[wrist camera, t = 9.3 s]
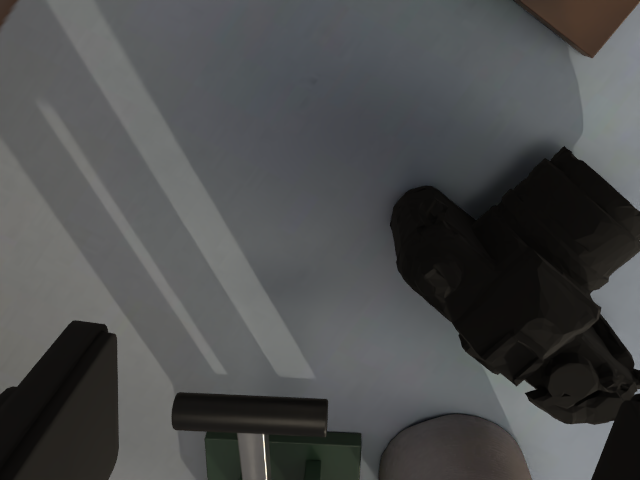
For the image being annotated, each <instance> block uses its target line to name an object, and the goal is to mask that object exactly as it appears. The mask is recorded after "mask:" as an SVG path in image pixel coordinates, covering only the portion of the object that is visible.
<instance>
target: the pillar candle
mask: <svg viewBox="0 0 640 480" xmlns="http://www.w3.org/2000/svg"><path fill="white" fill-rule="evenodd" d="M379 480H532V478H531V475H530V472H529V469H528V467H527V464H526V461H525V458H524V456H523V453H522V451H521V449H520V447H519V445H518V444H517V442H516V441H515V440H514V439H513V437H512V436H511V435H510V434H508V433H507V432H506V431H505V430H504V429H503V428H501V427H499V426H498V425H496V424H494V423H492V422H490V421H487V420H484V419H482V418H478V417H474V416H468V415H462V414H452V415H446V416H442V417H439V418H435V419H431V420H428V421H425V422H422V423H419V424H417V425H414V426H411V427H409V428H407V429H405V430H403V431H402V432H400V433H399V434H398V435H397V436H396V437H395V438H394V439H392V441H391V442H390V443H389V445H388V447H387V449H386V450H385V451H384V453H383V455H382V458H381V462H380V468H379Z"/></svg>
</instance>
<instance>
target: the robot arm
mask: <svg viewBox="0 0 640 480" xmlns="http://www.w3.org/2000/svg"><path fill="white" fill-rule="evenodd" d="M118 449H119V436H118V372H117V337H116V335H115V334H113V333H108V329H107V326H106V325H105V324H98V323H91V322H83V321H72V322H71V323H70V324H69V325H68V326H67V327H66V329H65V330H64V331H63V332H62V333H61V335H60V336H59V337H58V338H57V339H56V341H55V342H54V343H53V344H52V346H51V347H50V348H49V349H48V350H47V352H46V353H45V354H44V355H43V356H42V358H41V359H40V360H39V361H38V362H37V364H36V365H35V366H34V367H33V368H32V370H31V371H30V372H29V373H28V374H27V376H26V377H25V378H24V379H23V380H22V382H21V383H20V384H19V385H18V387H10V388H7V389H6V390H5V391H4V392H3V393H1V394H0V480H108V479H109V477H110V475H111V473H112V471H113V469H114V466H115V463H116V460H117V456H118ZM591 480H640V394H635V395H634V396H633V397H632V398H631V399H630V400H626V401H624V402H623V403H622V404H621V406H620V408H619V411H618V413H617V416H616V418H615V421H614V423H613V426H612V428H611V431H610V433H609V436H608V439H607V441H606V444H605V446H604V449H603V451H602V454H601V456H600V459H599V461H598V464H597V466H596V469H595V472H594V474H593V477H592V479H591Z"/></svg>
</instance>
